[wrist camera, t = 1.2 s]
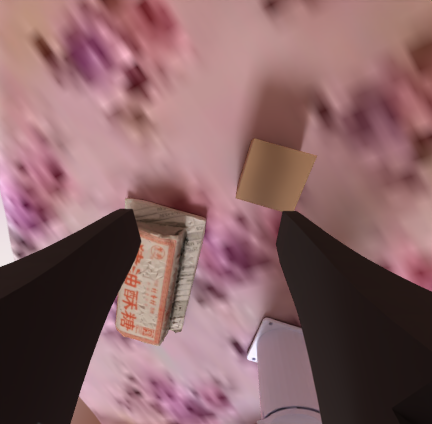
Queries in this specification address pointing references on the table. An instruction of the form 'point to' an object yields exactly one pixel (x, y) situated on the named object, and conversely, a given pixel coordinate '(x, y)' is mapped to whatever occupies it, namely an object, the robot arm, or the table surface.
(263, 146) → the tan cube
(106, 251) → the robot arm
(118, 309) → the packaged product
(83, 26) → the table surface
